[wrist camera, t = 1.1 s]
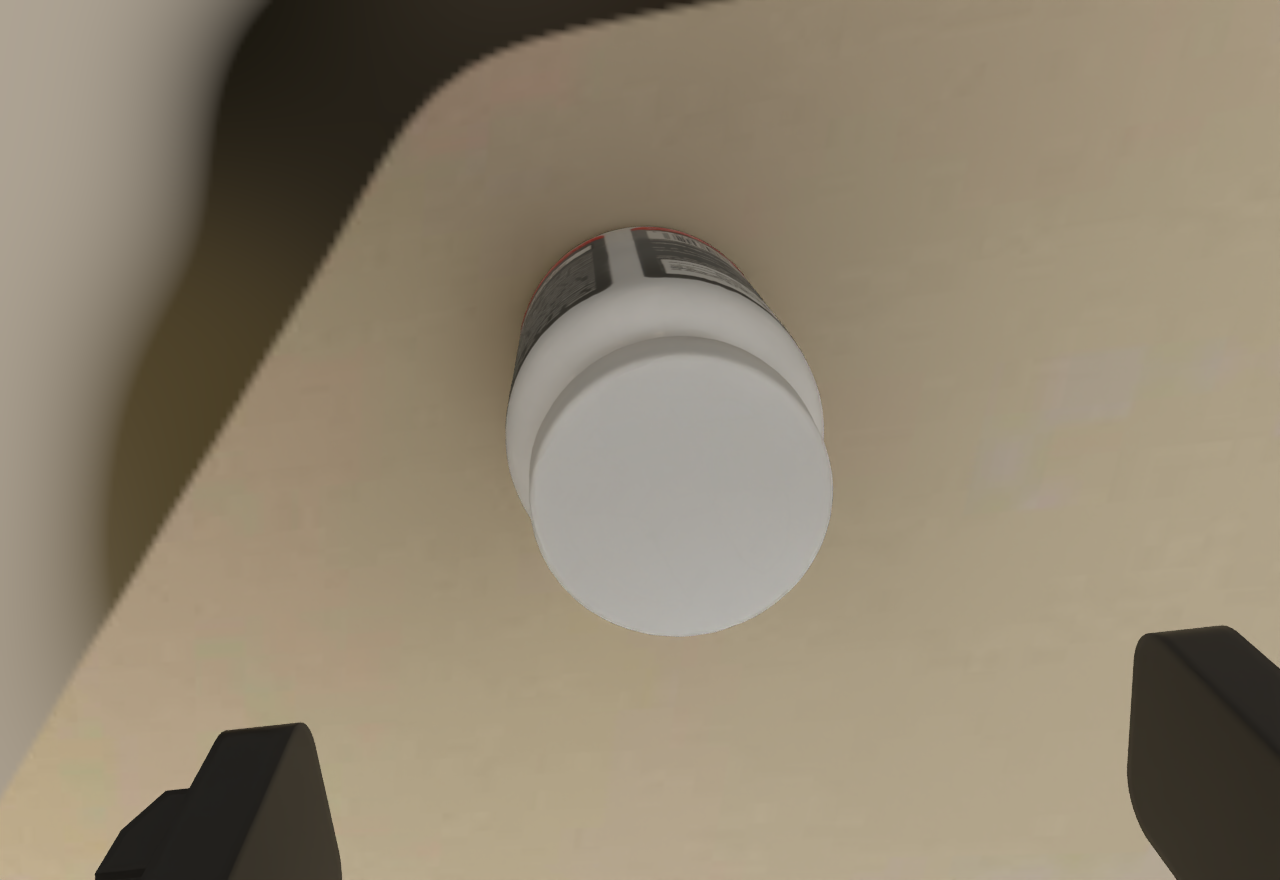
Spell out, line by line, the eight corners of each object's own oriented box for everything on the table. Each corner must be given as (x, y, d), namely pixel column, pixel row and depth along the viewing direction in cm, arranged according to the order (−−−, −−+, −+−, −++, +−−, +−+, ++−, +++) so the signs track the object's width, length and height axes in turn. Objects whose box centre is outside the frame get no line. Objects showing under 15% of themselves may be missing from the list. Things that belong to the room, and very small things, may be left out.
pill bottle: (566, 485, 27) (558, 710, 18) (487, 266, 25) (431, 389, 16) (790, 415, 27) (901, 609, 17) (726, 189, 25) (813, 268, 16)
